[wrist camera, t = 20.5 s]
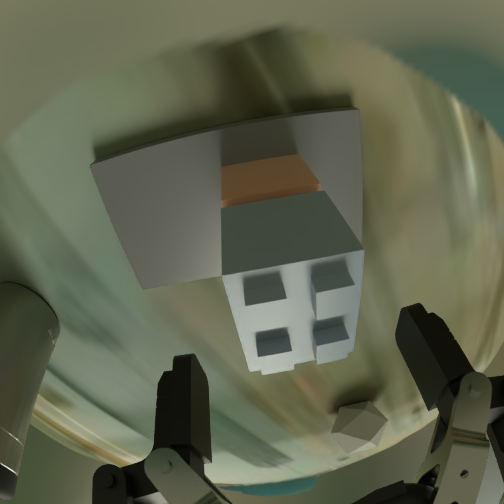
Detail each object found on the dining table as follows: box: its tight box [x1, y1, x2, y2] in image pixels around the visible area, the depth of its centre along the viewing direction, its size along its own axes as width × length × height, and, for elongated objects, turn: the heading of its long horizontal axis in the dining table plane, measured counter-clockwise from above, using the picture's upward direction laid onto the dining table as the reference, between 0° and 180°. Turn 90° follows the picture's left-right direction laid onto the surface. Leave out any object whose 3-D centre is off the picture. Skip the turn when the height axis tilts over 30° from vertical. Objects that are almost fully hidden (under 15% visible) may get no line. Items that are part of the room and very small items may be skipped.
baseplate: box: [90, 107, 363, 290], centre depth 22 cm, size 18×11×1 cm, turn 100°
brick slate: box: [221, 191, 364, 375], centre depth 14 cm, size 6×5×6 cm
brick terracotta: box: [221, 154, 321, 208], centre depth 19 cm, size 6×5×6 cm
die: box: [331, 401, 388, 454], centre depth 41 cm, size 8×9×10 cm
